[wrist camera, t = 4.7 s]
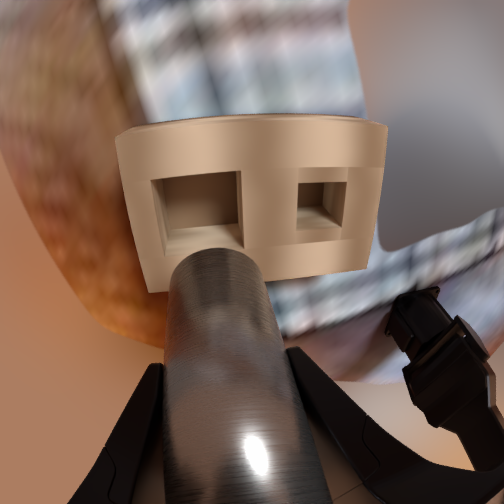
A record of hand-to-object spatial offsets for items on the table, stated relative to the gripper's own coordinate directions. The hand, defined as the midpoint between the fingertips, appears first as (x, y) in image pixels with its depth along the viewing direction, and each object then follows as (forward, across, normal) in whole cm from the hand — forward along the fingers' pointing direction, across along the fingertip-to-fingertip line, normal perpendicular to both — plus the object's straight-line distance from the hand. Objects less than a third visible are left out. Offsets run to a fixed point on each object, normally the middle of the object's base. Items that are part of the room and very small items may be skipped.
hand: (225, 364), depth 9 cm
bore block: (+14, -3, -1) cm, 14 cm away
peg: (+4, 0, 0) cm, 4 cm away
